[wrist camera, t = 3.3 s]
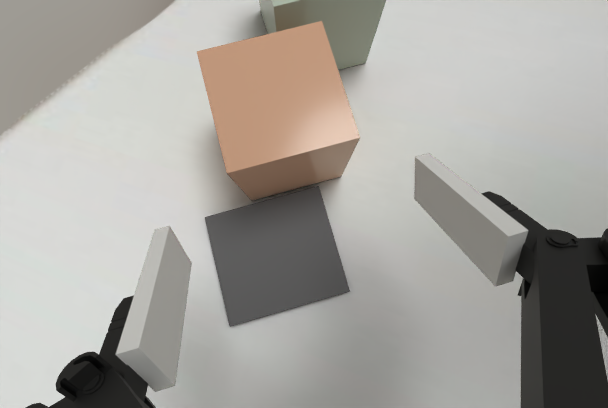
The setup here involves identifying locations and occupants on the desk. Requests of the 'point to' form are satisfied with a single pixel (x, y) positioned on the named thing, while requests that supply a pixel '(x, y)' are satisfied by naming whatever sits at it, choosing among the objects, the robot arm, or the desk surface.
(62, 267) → the desk surface
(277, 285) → the coaster
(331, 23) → the sage green cube
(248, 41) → the peach salmon cube
